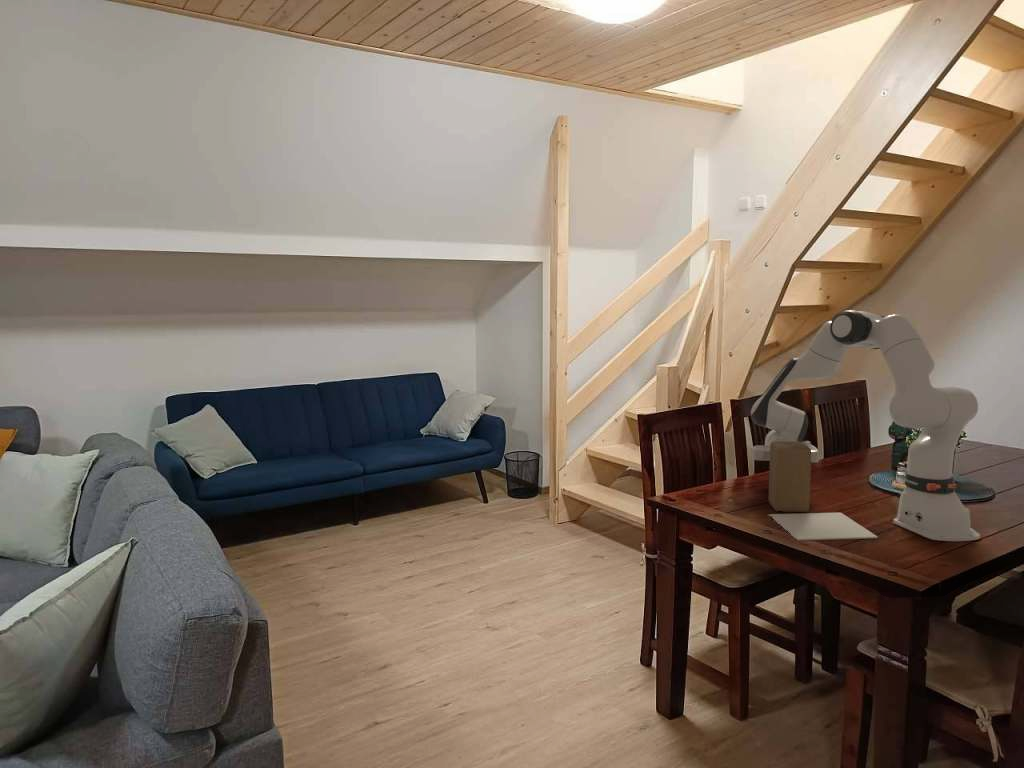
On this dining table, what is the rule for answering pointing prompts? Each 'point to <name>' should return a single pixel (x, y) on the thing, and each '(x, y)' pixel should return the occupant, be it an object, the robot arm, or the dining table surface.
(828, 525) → the mat
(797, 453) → the block
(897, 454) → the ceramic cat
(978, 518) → the dining table surface
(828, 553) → the dining table surface
